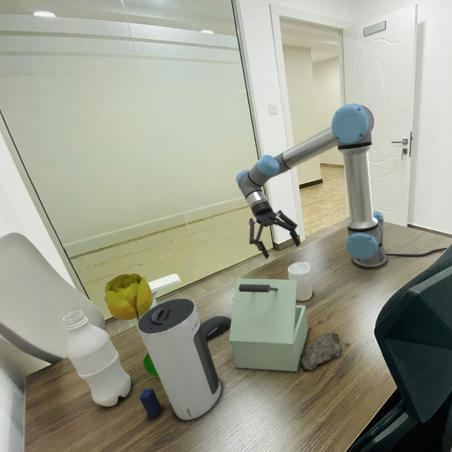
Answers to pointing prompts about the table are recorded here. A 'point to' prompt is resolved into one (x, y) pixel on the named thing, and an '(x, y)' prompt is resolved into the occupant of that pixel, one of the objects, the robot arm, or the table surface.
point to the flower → (130, 303)
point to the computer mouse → (215, 326)
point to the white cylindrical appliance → (181, 356)
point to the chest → (273, 349)
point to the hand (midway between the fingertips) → (283, 251)
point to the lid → (264, 311)
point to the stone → (321, 351)
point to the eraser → (150, 402)
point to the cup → (302, 279)
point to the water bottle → (95, 360)
